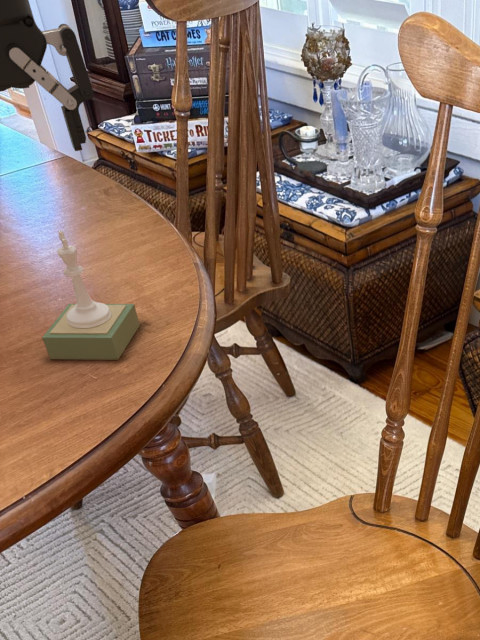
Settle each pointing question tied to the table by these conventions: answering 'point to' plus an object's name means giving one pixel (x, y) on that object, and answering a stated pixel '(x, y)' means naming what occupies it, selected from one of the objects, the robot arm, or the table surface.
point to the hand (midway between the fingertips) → (33, 156)
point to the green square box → (92, 336)
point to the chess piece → (81, 292)
